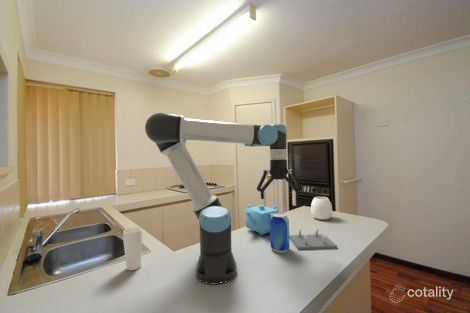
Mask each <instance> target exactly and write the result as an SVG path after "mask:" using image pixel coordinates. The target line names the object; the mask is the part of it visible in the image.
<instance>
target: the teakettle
mask: <svg viewBox="0 0 470 313" xmlns="http://www.w3.org/2000/svg"><path fill="white" fill-rule="evenodd" d="M246 206H247V208H245V211H244V212H243V214H245V221H246V222H245V223H246V224H245V228H247V229H250V232H251V231H252V232H251V233H256V232H257V233H258V236H259V235H262V236H261V237H264V236H265V234H270V233H269V232H270V218H271V217H272V214H273V213H279V210H278V209H277V207H278V206H279V205H277V204H276V205H273V206H272V207H269V206H266V207H264V206H263V204H259V205H257V206H252V205H251V204H249V203H247V204H246ZM255 231H256V232H255ZM263 235H264V236H263Z"/></svg>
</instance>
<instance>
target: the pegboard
mask: <svg viewBox="0 0 470 313" xmlns="http://www.w3.org/2000/svg"><path fill="white" fill-rule="evenodd" d="M314 232H315V233H314V234H302V228H298V234H294V235H293V234H292V235H291V234H289V240H290V241H291V242H292V245H294V247H295V248H296V249H297V250H298V251H303V250H307V251H308V250H327V249H328V250H331V249H332V250H333V249H338V245H337V244H336V243H334V241H332V240H331V239H330V238H329V237H328V236H326V234H324V233H320V234H319V228H315V230H314Z"/></svg>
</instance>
